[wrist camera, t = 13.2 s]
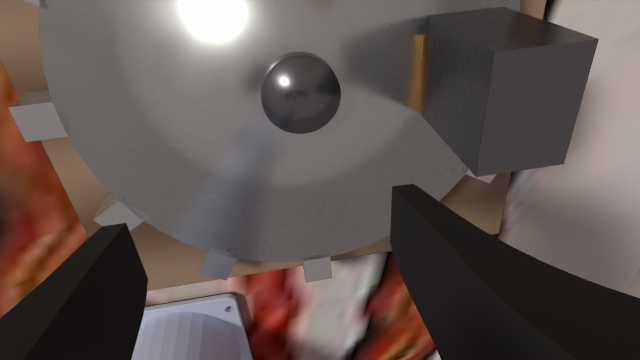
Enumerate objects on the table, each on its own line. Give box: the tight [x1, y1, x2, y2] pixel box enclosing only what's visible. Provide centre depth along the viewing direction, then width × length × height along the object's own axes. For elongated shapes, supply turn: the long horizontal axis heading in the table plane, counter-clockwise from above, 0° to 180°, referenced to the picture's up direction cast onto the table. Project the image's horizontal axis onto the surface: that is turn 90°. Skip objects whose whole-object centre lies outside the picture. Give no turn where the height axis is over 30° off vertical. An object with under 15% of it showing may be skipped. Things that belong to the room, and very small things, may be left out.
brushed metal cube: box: [421, 7, 599, 177], centre depth 14 cm, size 4×3×5 cm
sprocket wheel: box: [8, 0, 520, 282], centre depth 15 cm, size 21×21×6 cm
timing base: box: [0, 0, 546, 291], centre depth 18 cm, size 22×22×1 cm
